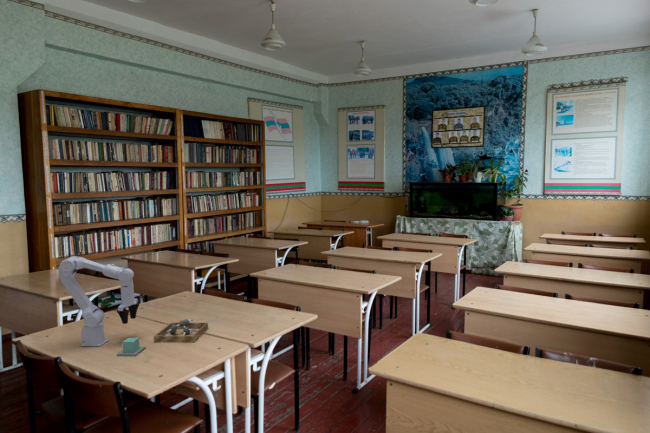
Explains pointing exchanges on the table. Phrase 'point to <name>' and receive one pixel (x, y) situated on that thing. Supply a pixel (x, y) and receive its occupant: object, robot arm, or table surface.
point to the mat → (131, 353)
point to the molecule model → (181, 324)
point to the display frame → (161, 338)
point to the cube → (130, 345)
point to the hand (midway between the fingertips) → (129, 320)
